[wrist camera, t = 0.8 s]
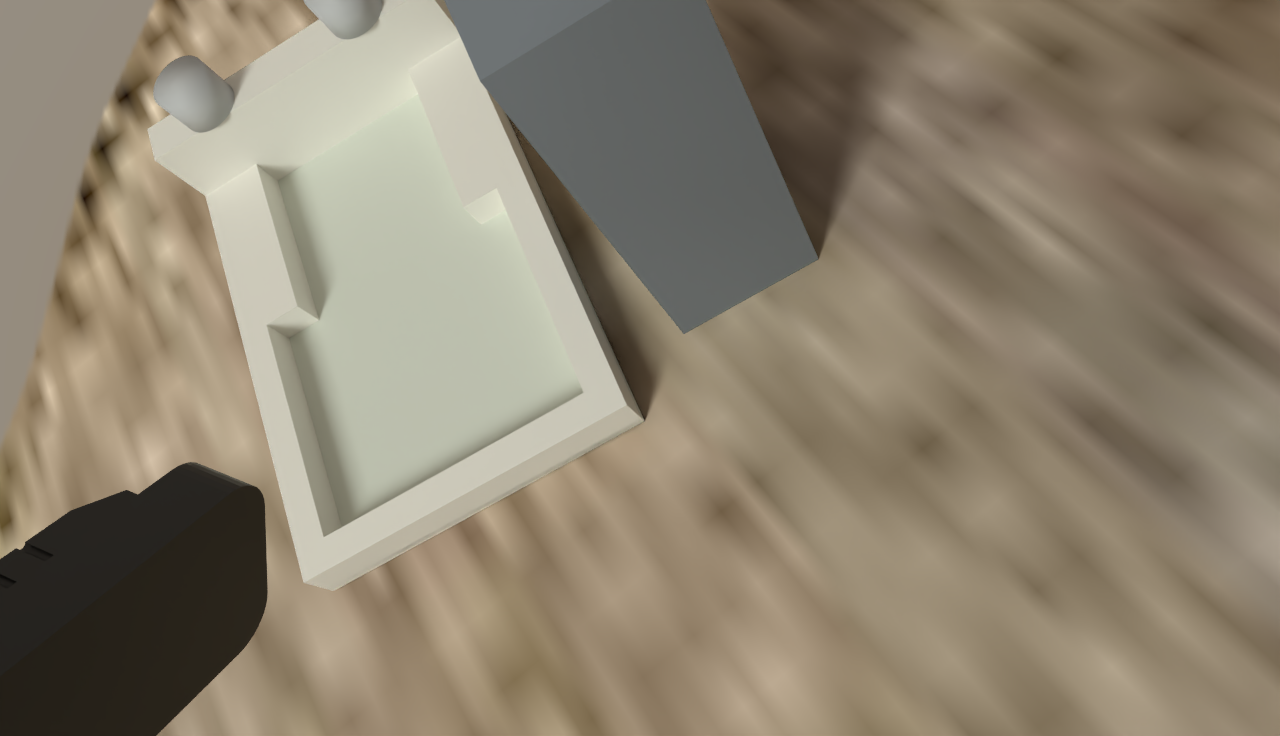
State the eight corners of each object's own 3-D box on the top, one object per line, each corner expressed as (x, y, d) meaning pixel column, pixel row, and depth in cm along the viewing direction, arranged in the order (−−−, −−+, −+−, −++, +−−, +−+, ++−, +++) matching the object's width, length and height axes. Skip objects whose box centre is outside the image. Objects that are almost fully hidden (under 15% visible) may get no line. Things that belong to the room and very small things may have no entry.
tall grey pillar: (818, 259, 31) (685, -45, 20) (683, 333, 32) (480, 81, 20) (740, 126, 34) (582, -213, 22) (616, 197, 34) (401, -95, 23)
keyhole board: (644, 421, 31) (570, 354, 26) (333, 590, 33) (210, 557, 28) (467, 29, 39) (386, -78, 34) (224, 181, 41) (113, 99, 36)
